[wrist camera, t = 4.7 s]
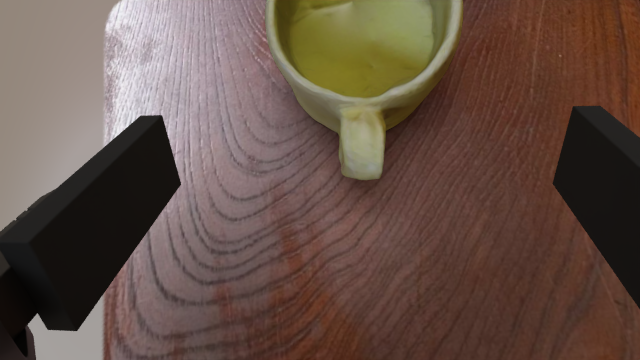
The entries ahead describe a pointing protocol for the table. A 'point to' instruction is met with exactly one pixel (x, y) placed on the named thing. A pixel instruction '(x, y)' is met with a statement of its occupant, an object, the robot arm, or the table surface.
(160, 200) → the robot arm
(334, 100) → the mug
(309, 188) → the table surface
